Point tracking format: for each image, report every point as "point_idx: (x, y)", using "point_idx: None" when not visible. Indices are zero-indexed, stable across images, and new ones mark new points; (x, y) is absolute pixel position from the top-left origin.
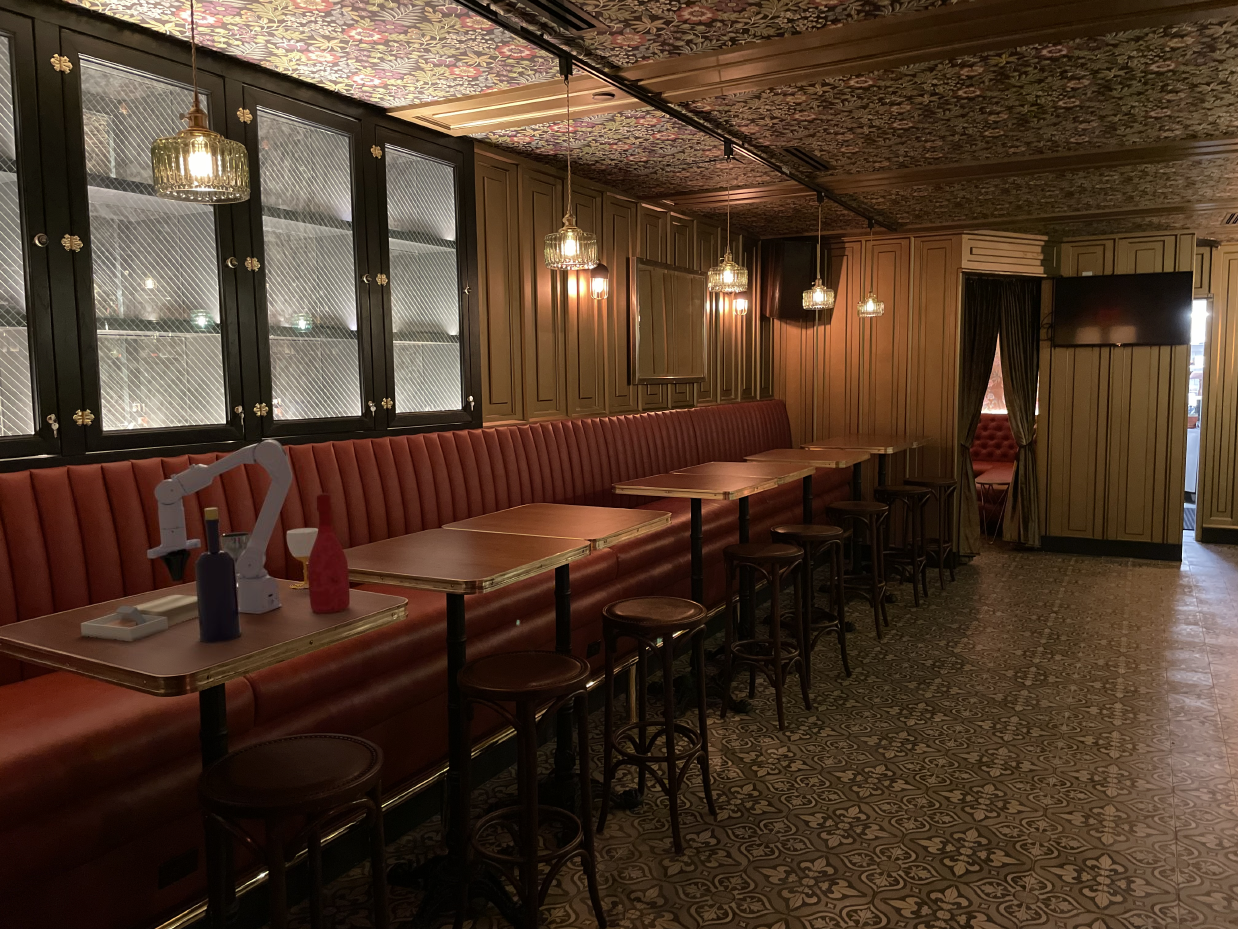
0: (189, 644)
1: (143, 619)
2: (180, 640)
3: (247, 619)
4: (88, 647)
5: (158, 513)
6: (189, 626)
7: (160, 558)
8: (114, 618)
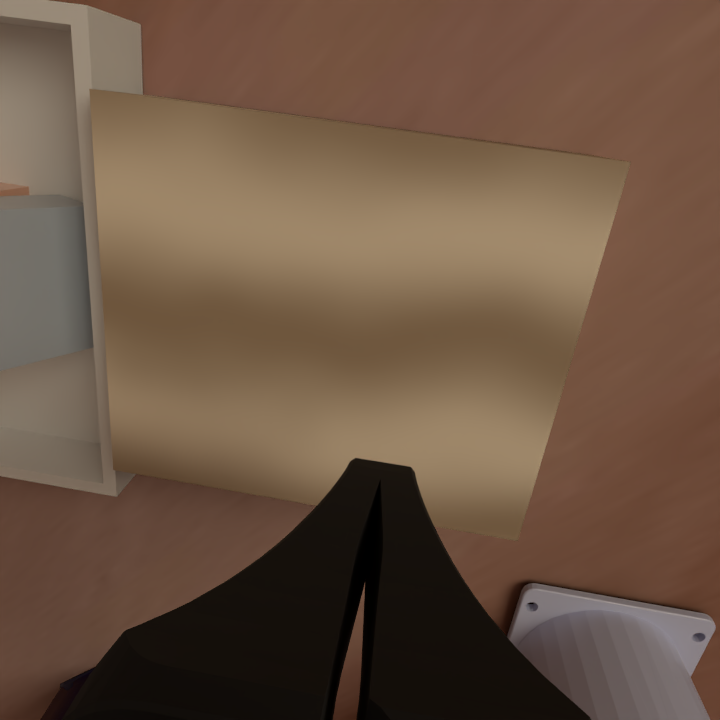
0: (21, 666)
1: (62, 351)
2: (43, 609)
3: None
4: None
5: None
6: (229, 524)
7: (127, 632)
8: (53, 26)
